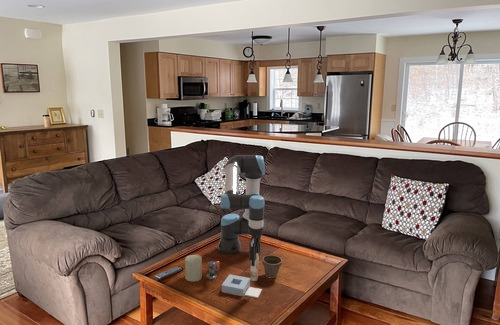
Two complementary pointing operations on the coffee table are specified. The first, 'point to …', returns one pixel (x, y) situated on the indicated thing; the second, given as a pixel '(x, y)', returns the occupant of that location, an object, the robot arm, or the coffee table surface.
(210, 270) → the crank post
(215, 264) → the chrome ball lever
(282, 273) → the coffee table surface
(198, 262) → the can
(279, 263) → the flower pot
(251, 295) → the mat
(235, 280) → the block
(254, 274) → the dowel
